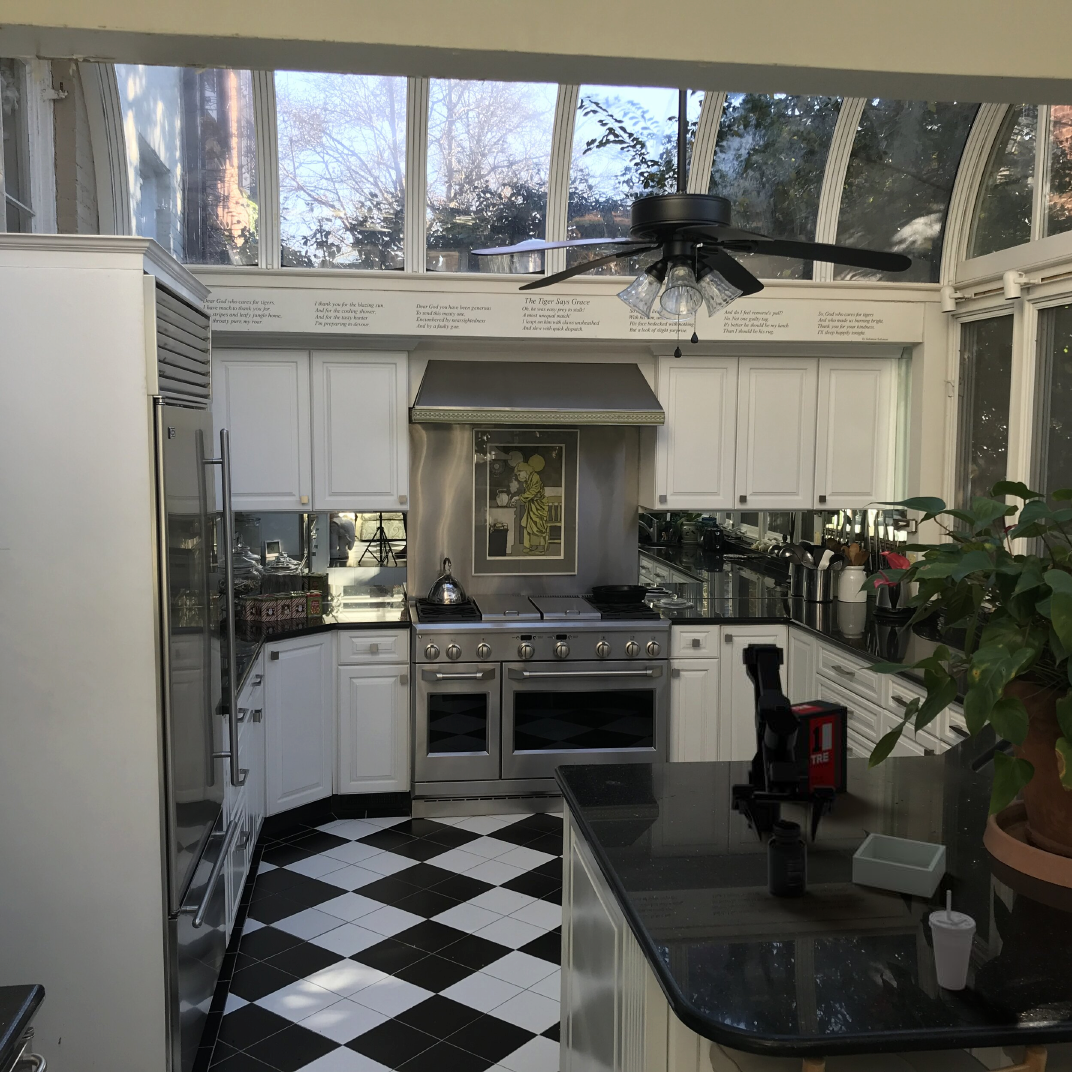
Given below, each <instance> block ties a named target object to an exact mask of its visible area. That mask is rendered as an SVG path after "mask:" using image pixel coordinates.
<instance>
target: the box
mask: <svg viewBox="0 0 1072 1072" xmlns="http://www.w3.org/2000/svg"><path fill="white" fill-rule="evenodd" d="M946 848H947V845H943V844H937V843H930V842H924V841H918V840H914V839H913V840H912V839H906V838H901V837H896V836H895V837H894V836H890V835H889V836H888V835H885V834H879V833H873V832H871V833H869V835H868V836H867V838H866V839H865V840H864V842H863V843H862V844H861V845H860V847H859V848H858V849H857V851H856V852H855V853H854V854H853V856H852V883H854V884H858V885H863V886H868V887H873V888H880V889H884V890H888V891H889V890H890V891H894V892H899V893H903V894H909V895H914V896H919V897H923V898H929V899H932V897H933V895H934V894H935V892H936V890H937V888H938V886H939V884H940V882H941V880H942V878H943V876H944V875H945V873H946V856H947V855H946V851H947V849H946Z"/></svg>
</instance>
